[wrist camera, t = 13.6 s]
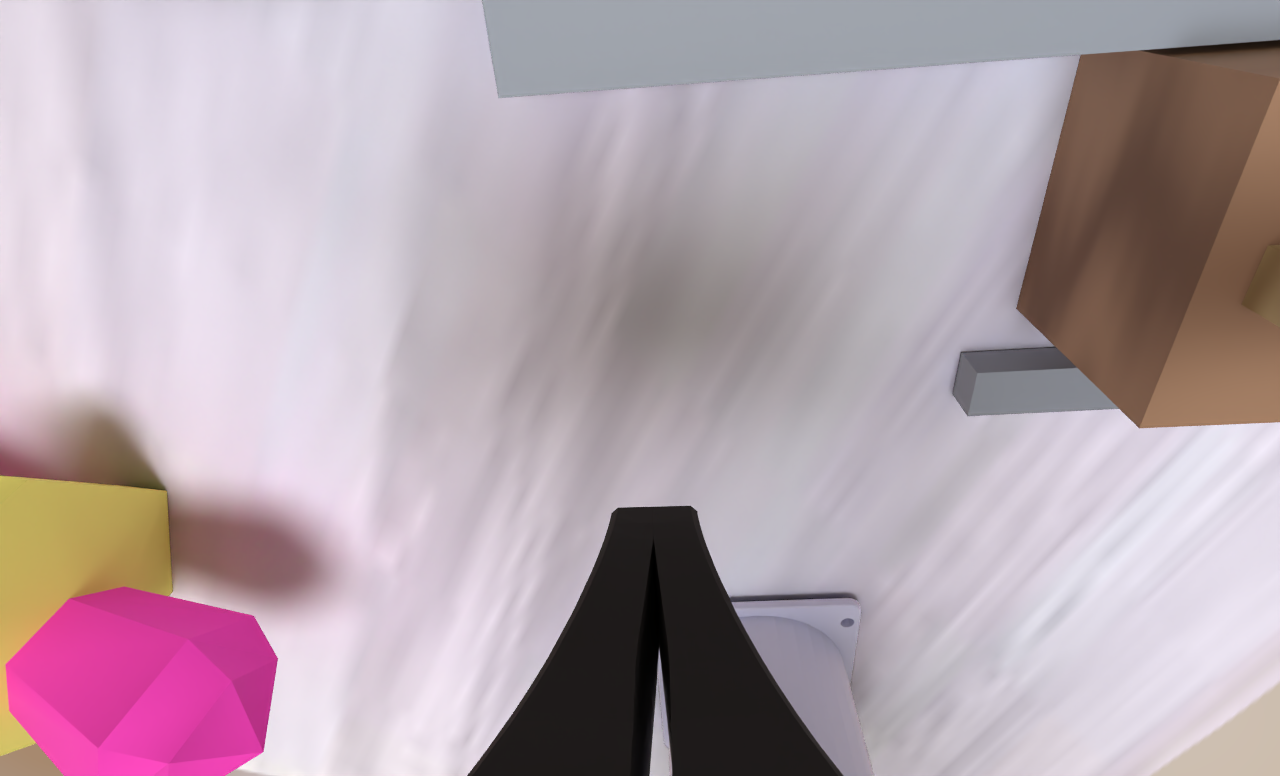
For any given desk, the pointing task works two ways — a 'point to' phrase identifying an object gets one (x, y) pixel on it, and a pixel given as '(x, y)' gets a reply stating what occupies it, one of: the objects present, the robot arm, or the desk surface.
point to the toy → (118, 641)
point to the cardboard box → (1167, 234)
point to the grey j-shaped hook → (847, 42)
